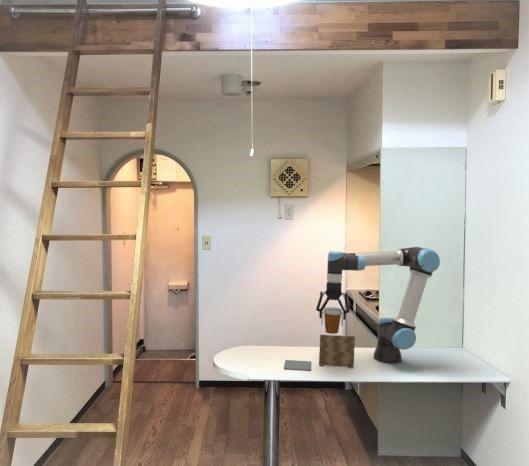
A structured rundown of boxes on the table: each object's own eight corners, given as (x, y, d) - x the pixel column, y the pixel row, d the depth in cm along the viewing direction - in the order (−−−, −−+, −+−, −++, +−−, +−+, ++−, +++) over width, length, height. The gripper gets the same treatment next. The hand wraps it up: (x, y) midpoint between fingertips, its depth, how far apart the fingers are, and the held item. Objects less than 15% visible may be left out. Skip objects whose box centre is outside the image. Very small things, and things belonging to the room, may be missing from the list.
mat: (311, 362, 260) (311, 361, 260) (311, 371, 247) (311, 369, 246) (285, 360, 262) (285, 359, 262) (283, 369, 248) (283, 368, 248)
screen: (353, 365, 258) (354, 335, 257) (353, 368, 253) (355, 337, 252) (318, 363, 260) (320, 333, 259) (319, 366, 255) (320, 336, 254)
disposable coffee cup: (340, 335, 243) (342, 311, 243) (321, 333, 245) (322, 310, 245) (341, 330, 253) (342, 308, 252) (323, 329, 254) (324, 306, 254)
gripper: (355, 281, 250) (353, 324, 252) (312, 279, 252) (310, 322, 253) (356, 283, 243) (354, 328, 244) (312, 281, 245) (310, 325, 246)
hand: (332, 325), depth 249 cm, fingers closed on disposable coffee cup, 9 cm apart
